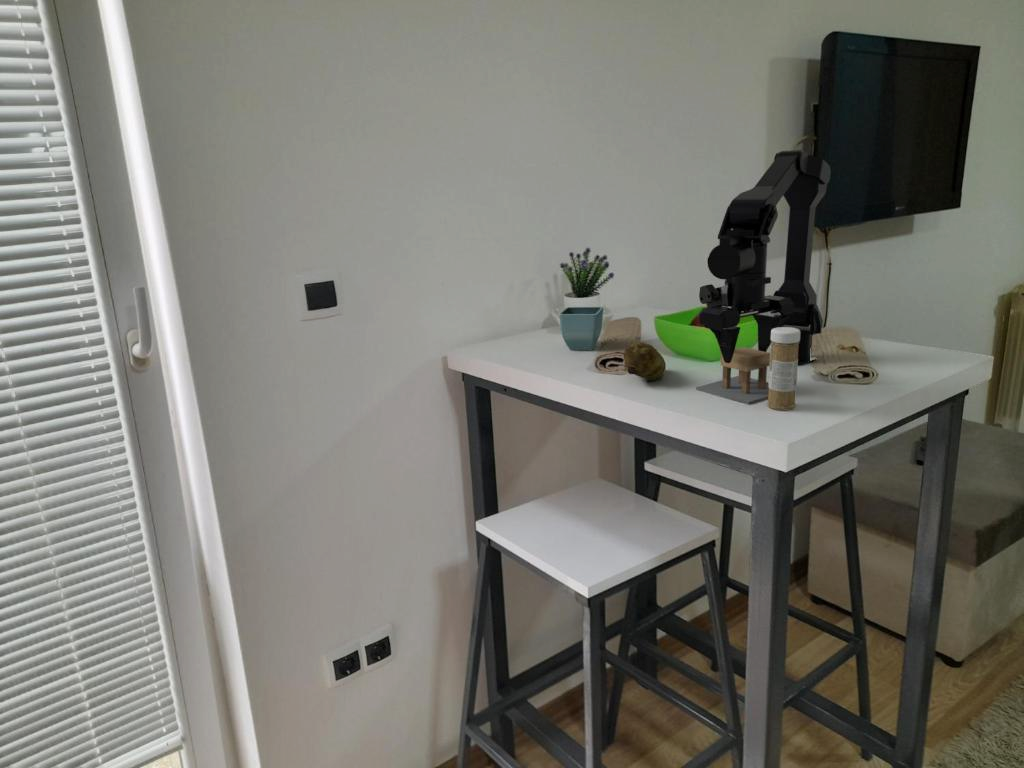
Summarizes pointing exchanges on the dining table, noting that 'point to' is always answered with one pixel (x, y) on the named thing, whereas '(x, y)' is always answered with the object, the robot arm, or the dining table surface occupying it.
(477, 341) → the dining table surface
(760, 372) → the stool
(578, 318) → the flower pot
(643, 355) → the potato
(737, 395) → the mat
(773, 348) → the spice jar
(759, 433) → the dining table surface
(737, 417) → the dining table surface
